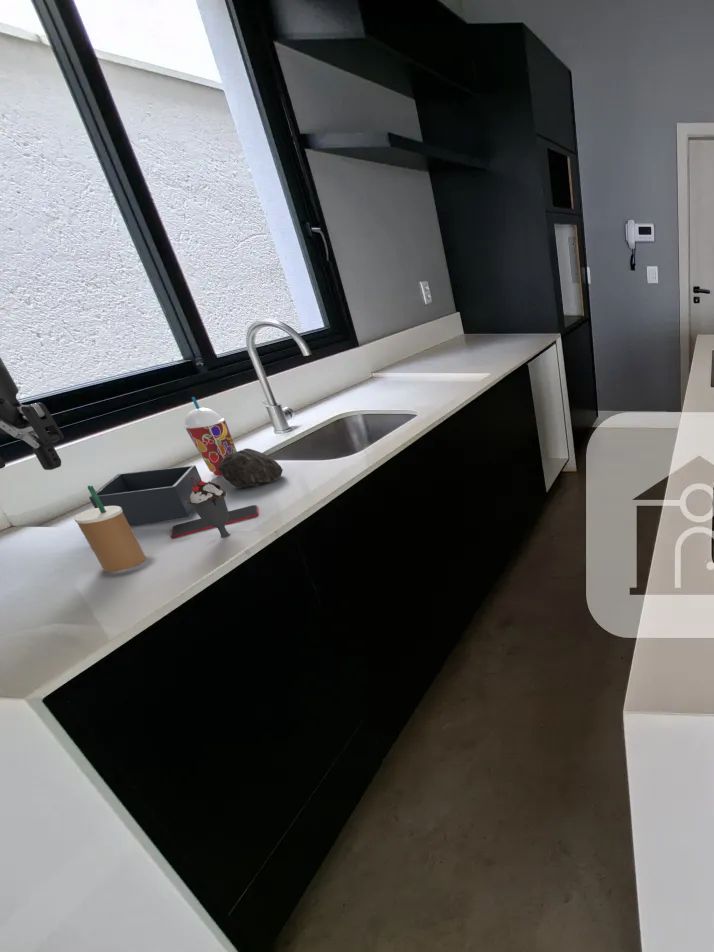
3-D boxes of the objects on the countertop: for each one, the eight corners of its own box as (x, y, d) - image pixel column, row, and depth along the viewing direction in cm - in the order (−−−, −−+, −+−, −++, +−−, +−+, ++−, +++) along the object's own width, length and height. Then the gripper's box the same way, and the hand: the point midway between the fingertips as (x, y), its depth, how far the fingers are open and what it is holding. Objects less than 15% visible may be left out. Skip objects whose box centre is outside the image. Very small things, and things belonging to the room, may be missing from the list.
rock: (294, 472, 146) (271, 437, 140) (260, 495, 137) (234, 459, 131) (264, 475, 148) (240, 441, 143) (228, 498, 139) (201, 463, 134)
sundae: (216, 552, 111) (180, 482, 105) (202, 544, 115) (166, 476, 108) (253, 537, 116) (221, 470, 109) (239, 531, 120) (207, 465, 113)
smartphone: (172, 525, 120) (256, 504, 128) (174, 529, 121) (258, 507, 128) (170, 537, 115) (258, 514, 123) (172, 541, 115) (259, 517, 123)
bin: (106, 529, 120) (88, 497, 116) (133, 504, 131) (117, 473, 128) (189, 517, 125) (174, 486, 122) (207, 494, 137) (195, 465, 133)
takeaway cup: (98, 578, 103) (50, 495, 95) (112, 562, 108) (68, 482, 100) (141, 571, 105) (98, 489, 98) (153, 555, 110) (113, 477, 103)
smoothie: (252, 469, 150) (219, 394, 141) (216, 480, 144) (178, 403, 135) (239, 464, 154) (206, 392, 145) (203, 475, 148) (166, 400, 139)
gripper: (-118, 372, 79) (-48, 478, 86) (-11, 371, 80) (49, 476, 87) (-58, 361, 86) (3, 461, 93) (41, 360, 86) (93, 459, 94)
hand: (25, 468), depth 90 cm, fingers open, 8 cm apart
